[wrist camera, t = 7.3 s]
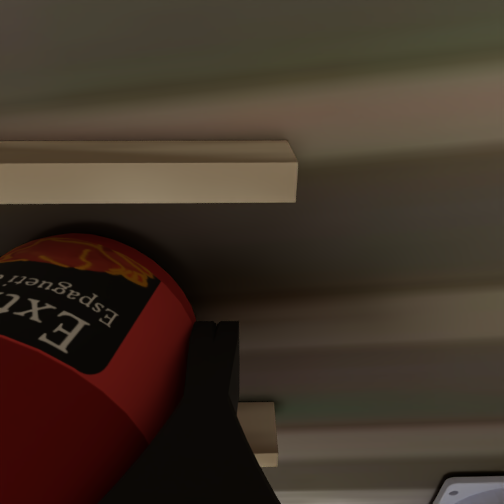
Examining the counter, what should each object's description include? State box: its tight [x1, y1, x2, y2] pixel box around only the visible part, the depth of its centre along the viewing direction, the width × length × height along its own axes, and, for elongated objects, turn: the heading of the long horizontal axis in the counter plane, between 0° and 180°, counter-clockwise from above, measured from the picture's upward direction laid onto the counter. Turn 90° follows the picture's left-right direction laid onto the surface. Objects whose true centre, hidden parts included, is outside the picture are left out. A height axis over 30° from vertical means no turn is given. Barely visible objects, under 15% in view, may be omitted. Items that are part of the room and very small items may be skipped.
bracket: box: [0, 140, 298, 467], centre depth 12 cm, size 13×13×2 cm
